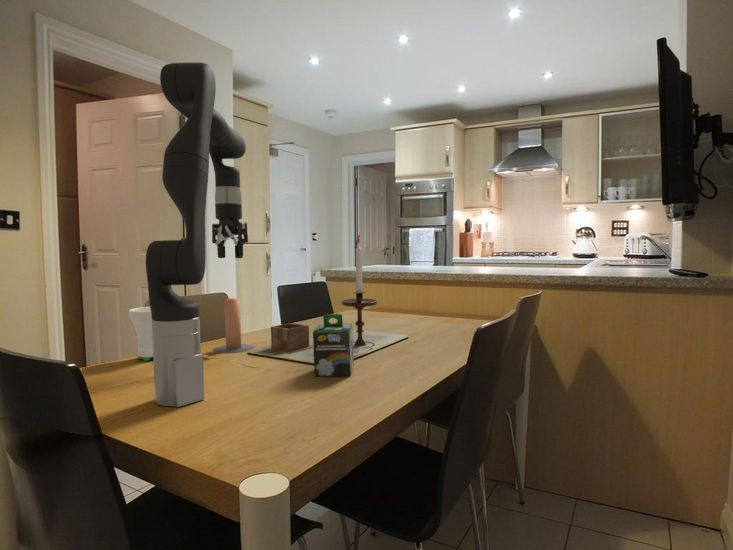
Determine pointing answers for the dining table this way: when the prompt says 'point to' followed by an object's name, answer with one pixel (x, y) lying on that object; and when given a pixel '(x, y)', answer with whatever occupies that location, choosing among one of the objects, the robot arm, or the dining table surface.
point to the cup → (143, 331)
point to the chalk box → (333, 347)
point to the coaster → (223, 350)
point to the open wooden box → (289, 338)
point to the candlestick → (359, 298)
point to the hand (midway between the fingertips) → (230, 258)
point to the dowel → (233, 323)
